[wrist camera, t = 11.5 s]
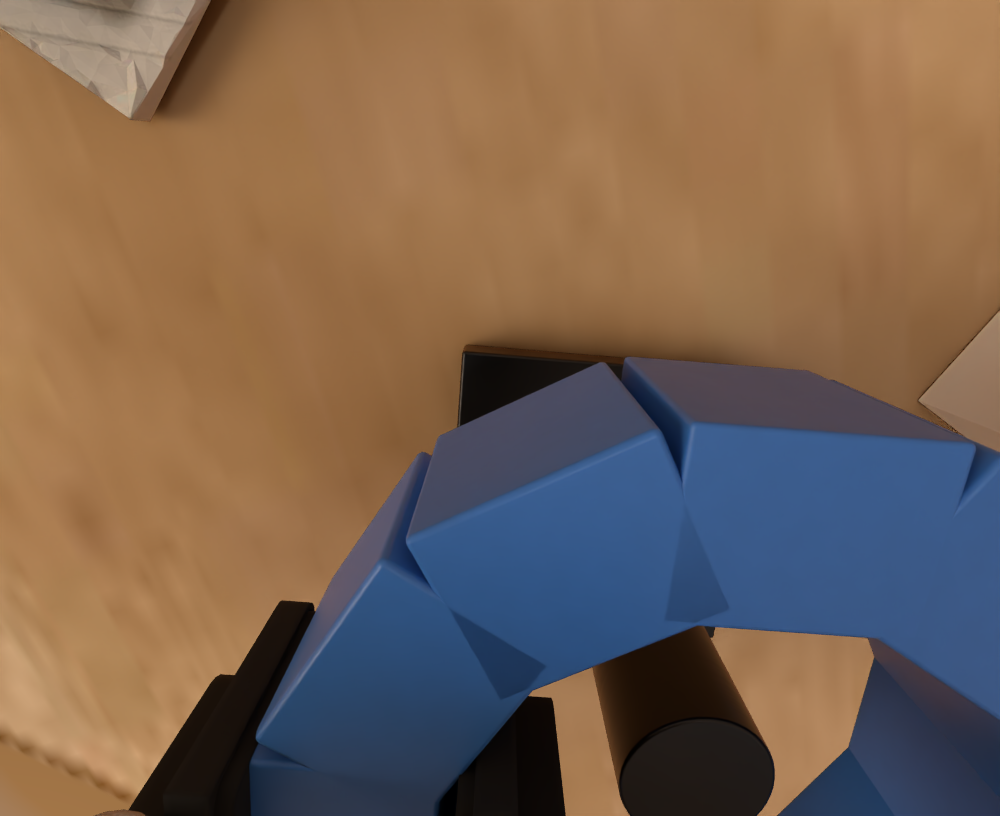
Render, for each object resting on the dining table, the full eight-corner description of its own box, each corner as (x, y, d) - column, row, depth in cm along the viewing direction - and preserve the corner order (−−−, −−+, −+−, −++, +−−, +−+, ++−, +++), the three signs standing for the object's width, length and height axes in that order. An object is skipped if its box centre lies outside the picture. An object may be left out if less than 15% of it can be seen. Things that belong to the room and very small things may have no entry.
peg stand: (447, 598, 21) (393, 973, 10) (464, 344, 19) (417, 490, 8) (702, 617, 21) (907, 1004, 11) (752, 367, 19) (1084, 542, 8)
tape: (326, 911, 13) (261, 1159, 9) (326, 332, 10) (227, 386, 6) (900, 947, 13) (1043, 1202, 10) (1098, 392, 10) (1425, 478, 6)
